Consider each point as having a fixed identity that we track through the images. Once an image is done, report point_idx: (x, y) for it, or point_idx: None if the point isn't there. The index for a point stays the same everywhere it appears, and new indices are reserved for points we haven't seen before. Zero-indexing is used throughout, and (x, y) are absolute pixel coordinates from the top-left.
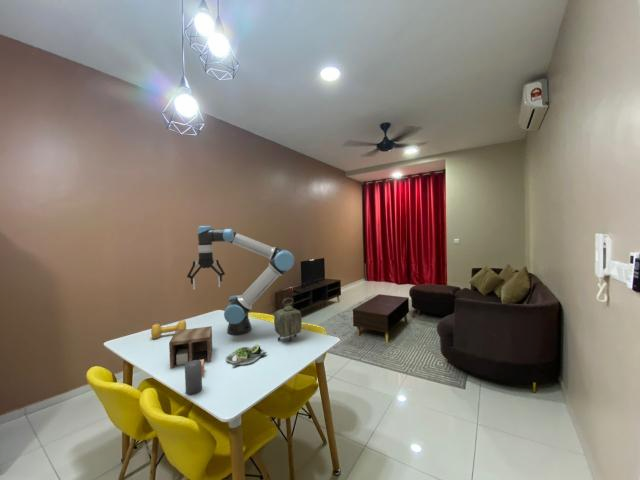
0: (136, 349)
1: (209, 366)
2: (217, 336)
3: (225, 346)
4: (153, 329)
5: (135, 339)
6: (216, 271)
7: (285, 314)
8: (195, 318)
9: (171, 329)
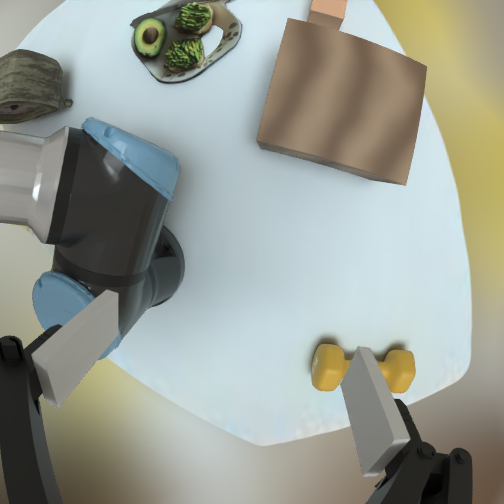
0: (447, 295)
1: None
2: (223, 254)
3: (216, 139)
4: (412, 364)
5: (429, 369)
6: (17, 428)
7: (8, 55)
8: (260, 442)
9: None
